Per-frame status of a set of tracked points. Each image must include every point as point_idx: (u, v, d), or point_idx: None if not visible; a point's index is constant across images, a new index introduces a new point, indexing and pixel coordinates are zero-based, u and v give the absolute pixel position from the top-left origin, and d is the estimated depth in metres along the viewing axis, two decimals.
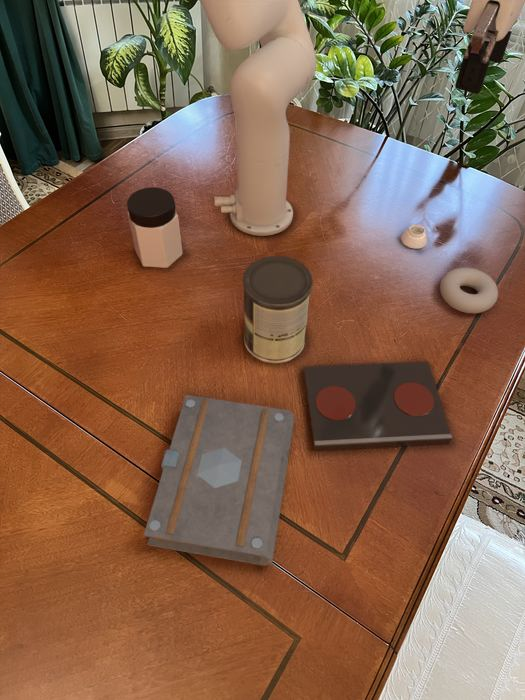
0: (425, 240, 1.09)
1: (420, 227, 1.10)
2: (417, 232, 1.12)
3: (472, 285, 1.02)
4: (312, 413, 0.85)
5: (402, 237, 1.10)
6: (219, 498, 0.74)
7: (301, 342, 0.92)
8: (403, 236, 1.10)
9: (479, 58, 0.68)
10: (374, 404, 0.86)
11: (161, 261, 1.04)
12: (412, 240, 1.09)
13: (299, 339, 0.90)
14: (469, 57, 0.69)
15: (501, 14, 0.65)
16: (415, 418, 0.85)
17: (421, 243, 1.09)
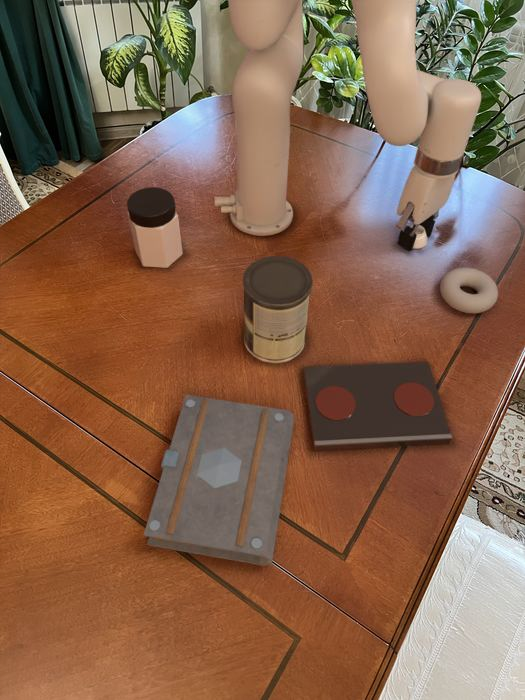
0: (425, 240, 1.09)
1: (420, 227, 1.10)
2: (417, 232, 1.12)
3: (472, 285, 1.02)
4: (312, 413, 0.85)
5: None
6: (219, 498, 0.74)
7: (301, 342, 0.92)
8: None
9: (407, 233, 1.05)
10: (374, 404, 0.86)
11: (161, 261, 1.04)
12: None
13: (299, 339, 0.90)
14: (402, 230, 1.06)
15: (415, 211, 1.00)
16: (415, 418, 0.85)
17: (421, 243, 1.09)
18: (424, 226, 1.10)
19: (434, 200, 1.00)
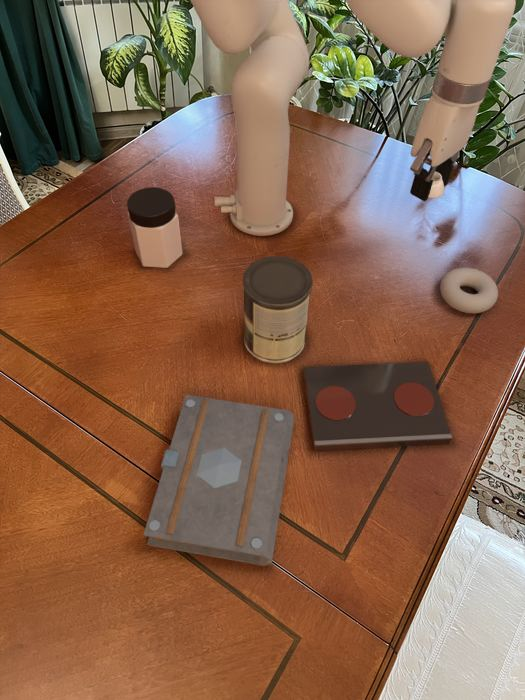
0: (442, 188, 0.95)
1: (436, 174, 0.96)
2: None
3: (472, 285, 1.02)
4: (312, 413, 0.85)
5: None
6: (219, 498, 0.74)
7: (301, 342, 0.92)
8: None
9: (422, 178, 0.91)
10: (374, 404, 0.86)
11: (161, 261, 1.04)
12: None
13: (299, 339, 0.90)
14: (416, 175, 0.92)
15: (433, 149, 0.86)
16: (415, 418, 0.85)
17: (438, 192, 0.95)
18: (440, 173, 0.96)
19: (455, 136, 0.86)
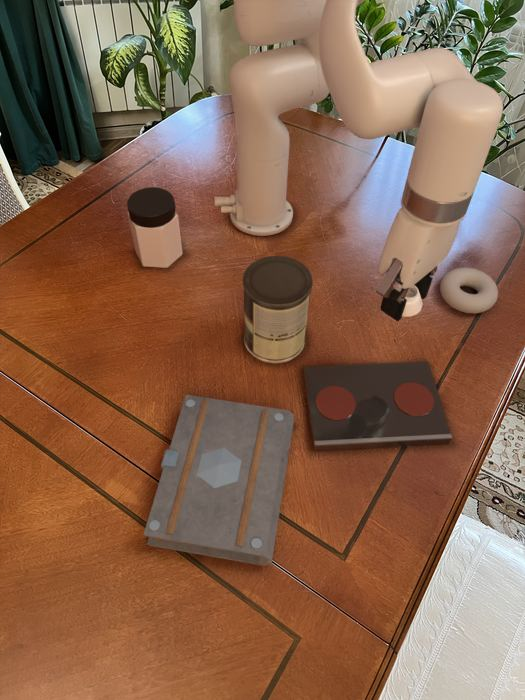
0: (419, 305, 0.78)
1: (412, 286, 0.79)
2: (408, 291, 0.81)
3: (472, 285, 1.02)
4: (312, 413, 0.85)
5: None
6: (219, 498, 0.74)
7: (301, 342, 0.92)
8: None
9: (393, 299, 0.74)
10: (374, 404, 0.86)
11: (161, 261, 1.04)
12: None
13: (299, 339, 0.90)
14: None
15: (404, 271, 0.69)
16: (415, 418, 0.85)
17: (414, 309, 0.78)
18: (417, 284, 0.79)
19: (431, 255, 0.69)
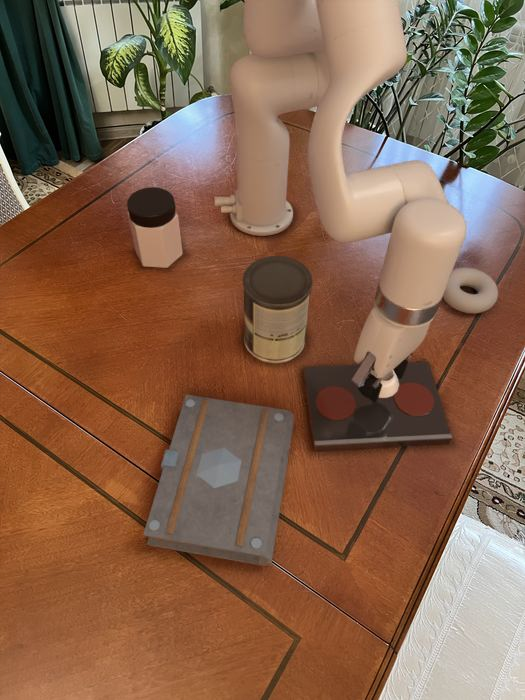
0: (395, 386, 0.81)
1: None
2: None
3: (472, 285, 1.02)
4: (312, 413, 0.85)
5: None
6: (219, 498, 0.74)
7: (301, 342, 0.92)
8: None
9: (368, 385, 0.77)
10: (374, 404, 0.86)
11: (161, 261, 1.04)
12: None
13: (299, 339, 0.90)
14: None
15: (377, 364, 0.72)
16: (415, 418, 0.85)
17: (390, 391, 0.81)
18: (394, 366, 0.82)
19: (403, 349, 0.72)
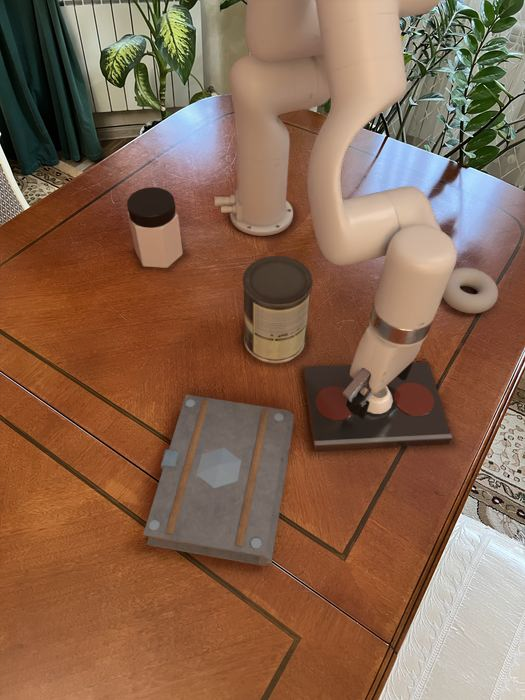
0: (389, 403, 0.84)
1: None
2: None
3: (472, 285, 1.02)
4: (312, 413, 0.85)
5: None
6: (219, 498, 0.74)
7: (301, 342, 0.92)
8: None
9: None
10: None
11: (161, 261, 1.04)
12: (372, 405, 0.84)
13: (299, 339, 0.90)
14: None
15: (372, 380, 0.75)
16: (415, 418, 0.85)
17: (384, 407, 0.84)
18: None
19: (397, 366, 0.75)
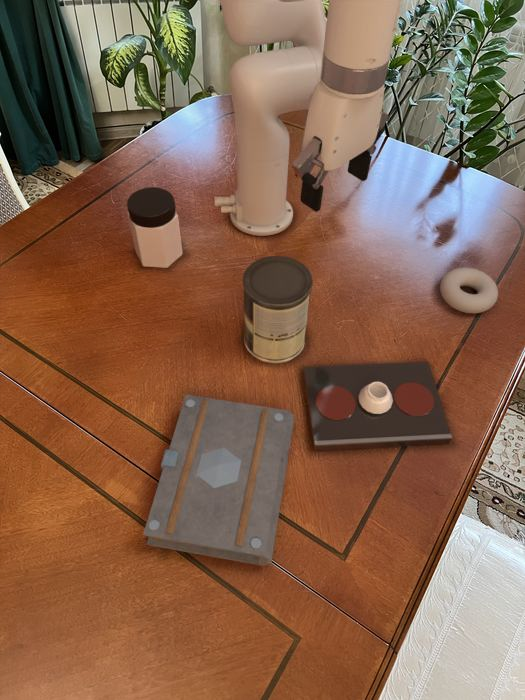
0: (389, 403, 0.84)
1: (383, 385, 0.85)
2: (380, 387, 0.87)
3: (472, 285, 1.02)
4: (312, 413, 0.85)
5: (360, 397, 0.85)
6: (219, 498, 0.74)
7: (301, 342, 0.92)
8: (361, 396, 0.85)
9: (307, 184, 0.73)
10: None
11: (161, 261, 1.04)
12: (372, 405, 0.84)
13: (299, 339, 0.90)
14: None
15: (324, 150, 0.69)
16: (415, 418, 0.85)
17: (384, 407, 0.84)
18: (357, 165, 0.80)
19: (351, 134, 0.69)
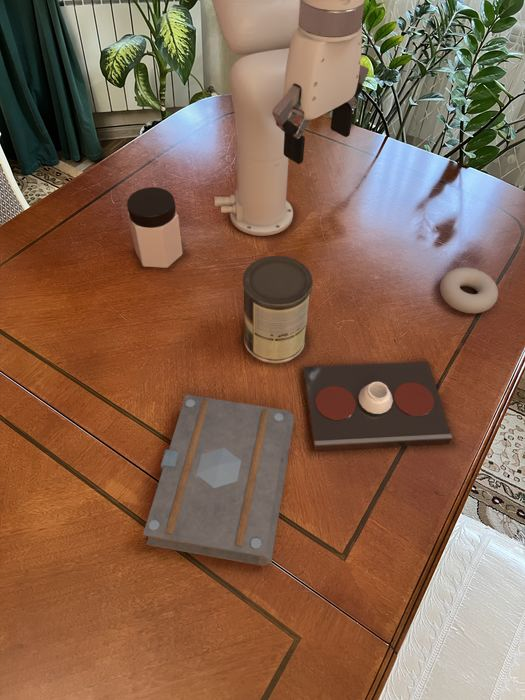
0: (389, 403, 0.84)
1: (383, 385, 0.85)
2: (380, 387, 0.87)
3: (472, 285, 1.02)
4: (312, 413, 0.85)
5: (360, 397, 0.85)
6: (218, 498, 0.74)
7: (301, 342, 0.92)
8: (361, 396, 0.85)
9: (289, 133, 0.74)
10: None
11: (161, 261, 1.04)
12: (372, 405, 0.84)
13: (299, 339, 0.90)
14: (283, 130, 0.75)
15: (303, 97, 0.71)
16: (415, 418, 0.85)
17: (384, 407, 0.84)
18: (340, 120, 0.81)
19: (330, 82, 0.71)
